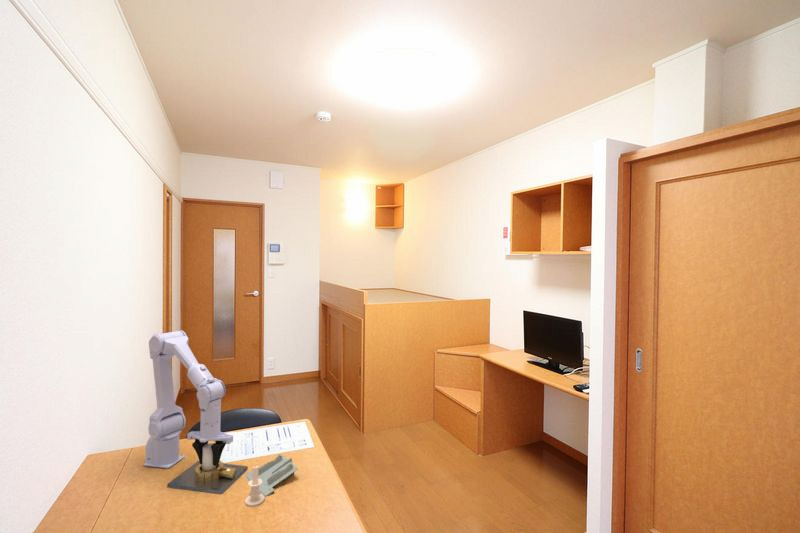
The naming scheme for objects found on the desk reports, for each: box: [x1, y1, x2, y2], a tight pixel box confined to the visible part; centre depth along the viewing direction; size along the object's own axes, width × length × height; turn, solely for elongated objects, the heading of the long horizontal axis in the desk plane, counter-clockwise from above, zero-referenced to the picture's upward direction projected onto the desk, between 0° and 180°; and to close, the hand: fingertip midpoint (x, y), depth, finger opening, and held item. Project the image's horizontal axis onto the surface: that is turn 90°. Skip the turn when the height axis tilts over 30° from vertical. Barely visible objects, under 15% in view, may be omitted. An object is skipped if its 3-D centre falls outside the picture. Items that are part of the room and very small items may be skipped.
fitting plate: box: [166, 460, 249, 495], centre depth 122 cm, size 18×14×4 cm
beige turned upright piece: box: [244, 464, 265, 507], centre depth 111 cm, size 5×5×10 cm
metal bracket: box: [244, 454, 299, 498], centre depth 122 cm, size 14×6×15 cm
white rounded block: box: [202, 442, 216, 472], centre depth 121 cm, size 4×4×8 cm
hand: (209, 463), depth 122 cm, fingers closed on white rounded block, 4 cm apart
